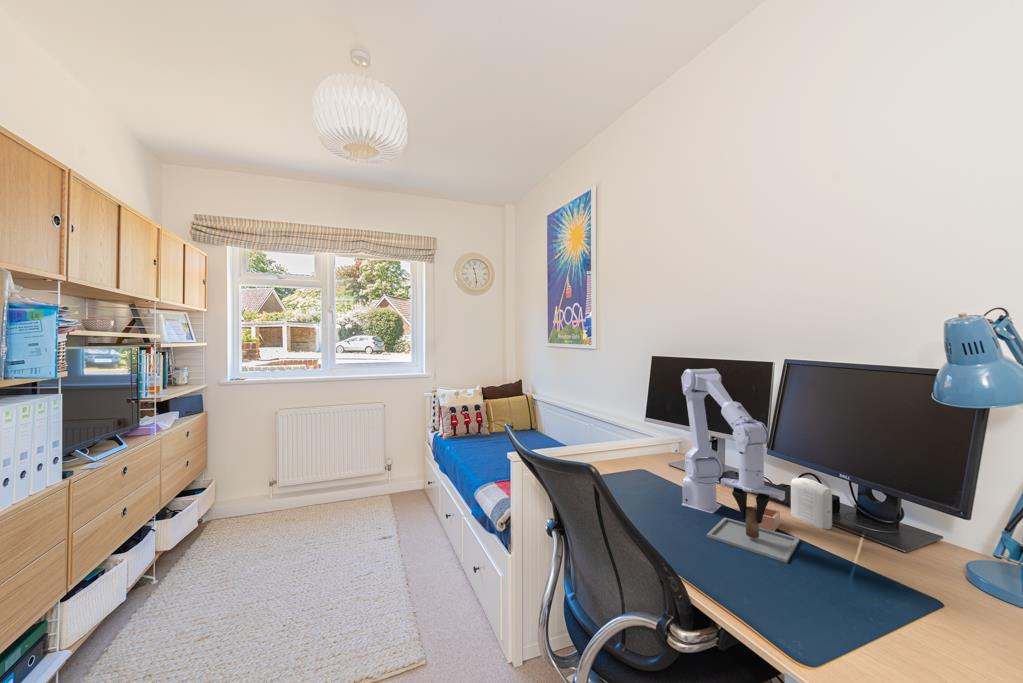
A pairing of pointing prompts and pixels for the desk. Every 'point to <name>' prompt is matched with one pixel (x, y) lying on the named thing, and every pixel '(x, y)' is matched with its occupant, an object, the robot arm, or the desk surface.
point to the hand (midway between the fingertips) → (752, 519)
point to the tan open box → (770, 519)
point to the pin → (751, 522)
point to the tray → (755, 539)
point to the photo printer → (811, 502)
